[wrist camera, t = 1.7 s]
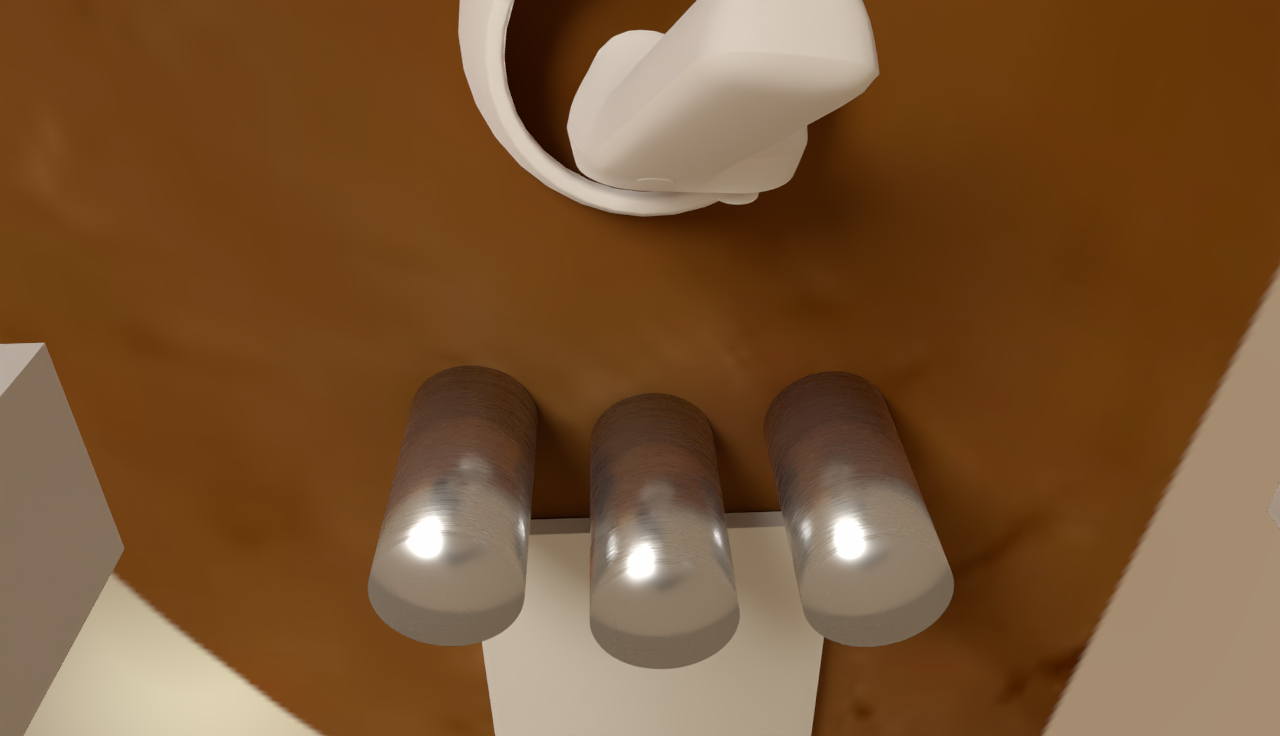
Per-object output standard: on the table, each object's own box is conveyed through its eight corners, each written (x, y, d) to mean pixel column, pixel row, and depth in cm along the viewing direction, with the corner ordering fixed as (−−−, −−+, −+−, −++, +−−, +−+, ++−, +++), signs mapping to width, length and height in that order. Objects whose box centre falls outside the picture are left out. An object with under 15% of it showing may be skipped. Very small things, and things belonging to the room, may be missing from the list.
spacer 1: (402, 367, 25) (356, 539, 21) (533, 363, 26) (518, 534, 21) (419, 468, 27) (380, 648, 22) (541, 464, 27) (530, 643, 22)
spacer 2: (587, 395, 26) (586, 568, 21) (715, 391, 26) (743, 562, 21) (592, 492, 28) (592, 671, 23) (711, 488, 28) (736, 666, 23)
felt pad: (468, 521, 28) (466, 536, 28) (834, 509, 29) (838, 524, 28) (501, 748, 34) (499, 764, 34) (805, 737, 34) (808, 753, 34)
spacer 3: (767, 373, 26) (808, 542, 21) (895, 369, 26) (965, 537, 21) (760, 472, 28) (796, 649, 23) (880, 468, 28) (941, 644, 23)
